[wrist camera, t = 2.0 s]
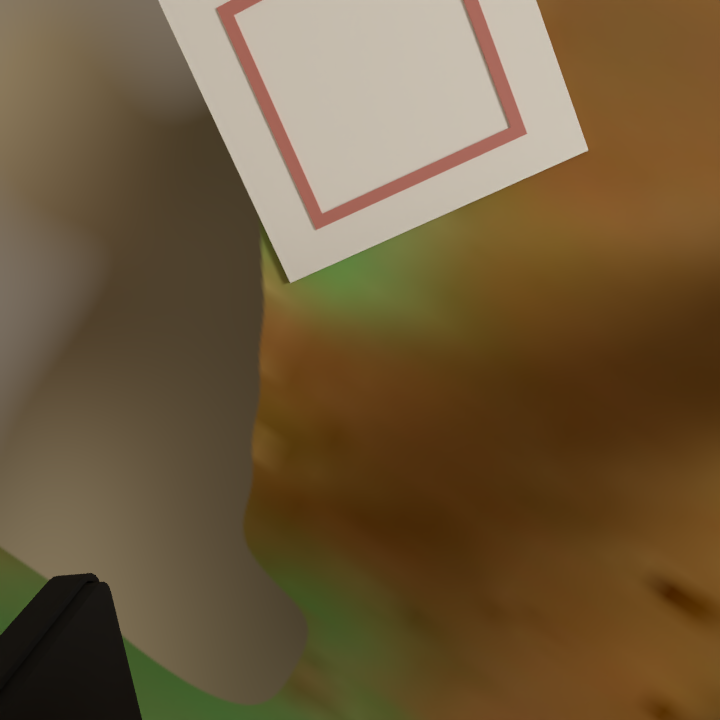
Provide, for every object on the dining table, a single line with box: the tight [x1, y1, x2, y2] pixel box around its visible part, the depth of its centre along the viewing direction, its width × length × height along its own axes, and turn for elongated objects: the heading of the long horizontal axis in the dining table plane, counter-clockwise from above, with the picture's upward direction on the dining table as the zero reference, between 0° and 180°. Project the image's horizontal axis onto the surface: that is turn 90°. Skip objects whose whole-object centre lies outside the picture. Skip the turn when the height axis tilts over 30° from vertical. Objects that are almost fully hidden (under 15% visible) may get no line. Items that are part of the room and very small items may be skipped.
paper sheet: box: [158, 0, 588, 283], centre depth 31 cm, size 16×15×1 cm
